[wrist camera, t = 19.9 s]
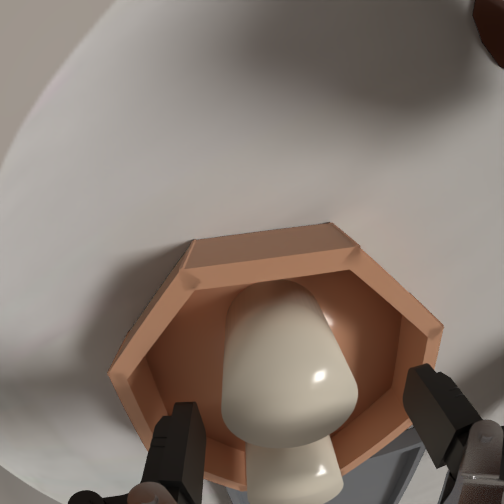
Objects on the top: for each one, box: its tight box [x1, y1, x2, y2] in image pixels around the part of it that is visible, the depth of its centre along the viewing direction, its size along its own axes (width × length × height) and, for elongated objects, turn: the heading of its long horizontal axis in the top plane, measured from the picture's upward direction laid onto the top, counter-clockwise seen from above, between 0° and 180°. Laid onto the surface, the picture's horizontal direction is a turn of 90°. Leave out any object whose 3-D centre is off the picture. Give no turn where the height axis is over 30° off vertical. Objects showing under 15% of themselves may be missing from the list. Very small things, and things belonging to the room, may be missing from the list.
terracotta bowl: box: [107, 222, 444, 492], centre depth 15 cm, size 15×15×4 cm
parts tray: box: [225, 427, 426, 504], centre depth 21 cm, size 15×15×2 cm
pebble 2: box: [245, 435, 344, 504], centre depth 14 cm, size 4×4×6 cm
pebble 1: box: [221, 279, 358, 449], centre depth 12 cm, size 4×4×6 cm
